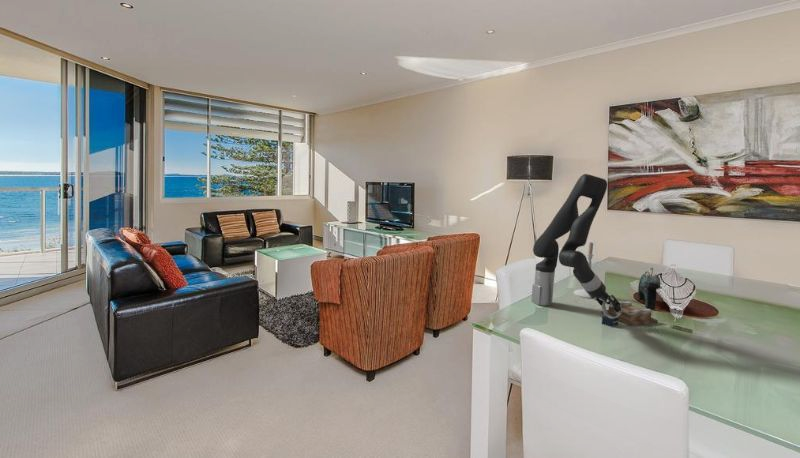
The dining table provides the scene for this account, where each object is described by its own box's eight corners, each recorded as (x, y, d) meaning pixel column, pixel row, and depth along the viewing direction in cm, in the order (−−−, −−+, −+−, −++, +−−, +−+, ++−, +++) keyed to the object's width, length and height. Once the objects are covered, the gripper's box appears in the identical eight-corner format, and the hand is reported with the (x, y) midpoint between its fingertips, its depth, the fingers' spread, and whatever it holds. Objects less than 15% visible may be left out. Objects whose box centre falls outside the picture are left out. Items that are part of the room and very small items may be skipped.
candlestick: (568, 291, 215) (573, 239, 210) (590, 291, 216) (595, 239, 212) (582, 298, 202) (587, 243, 198) (604, 298, 204) (610, 244, 199)
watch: (616, 328, 163) (618, 304, 162) (597, 322, 170) (600, 298, 168) (622, 325, 166) (625, 301, 165) (604, 319, 173) (606, 296, 171)
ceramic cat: (658, 311, 185) (663, 272, 182) (643, 310, 187) (648, 270, 184) (646, 299, 204) (651, 263, 201) (633, 297, 206) (637, 262, 203)
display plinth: (630, 326, 166) (631, 314, 165) (601, 313, 181) (602, 302, 181) (657, 322, 171) (659, 311, 170) (627, 310, 186) (628, 299, 185)
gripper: (611, 282, 155) (629, 306, 160) (585, 273, 169) (603, 296, 174) (599, 295, 155) (618, 319, 160) (574, 285, 168) (592, 308, 173)
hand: (610, 307), depth 167 cm, fingers closed on watch, 8 cm apart
